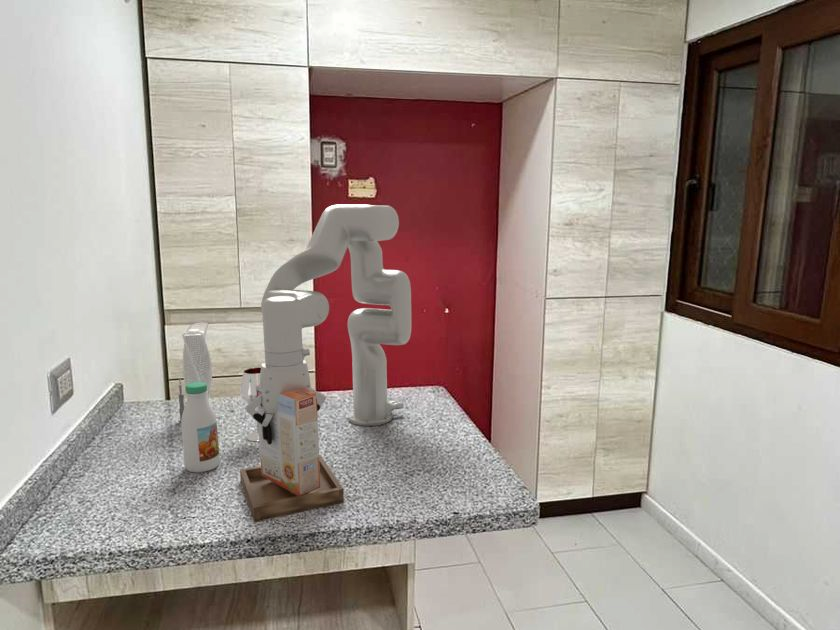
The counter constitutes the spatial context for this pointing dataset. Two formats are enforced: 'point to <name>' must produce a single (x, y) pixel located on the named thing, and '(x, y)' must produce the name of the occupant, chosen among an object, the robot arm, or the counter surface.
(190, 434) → the milk bottle
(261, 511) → the walnut tray
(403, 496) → the counter surface
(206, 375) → the skyscraper
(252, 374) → the wineglass
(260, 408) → the cracker box
